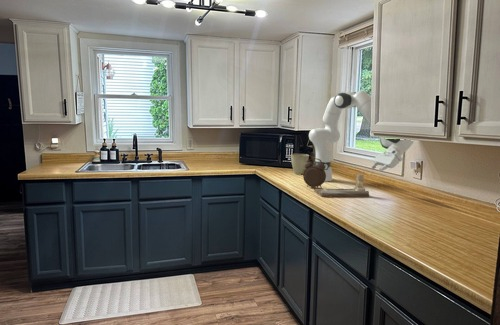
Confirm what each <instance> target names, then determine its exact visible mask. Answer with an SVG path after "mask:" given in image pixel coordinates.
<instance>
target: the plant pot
mask: <svg viewBox="0 0 500 325" xmlns="http://www.w3.org/2000/svg"><path fill="white" fill-rule="evenodd" d="M309 158H310V155H309V154H307V153H306V154H305V153H291V154H290V159H291V160H290V161H291V165H292V171H293V173H295V174H294V175H298V174H302V175H303V174H304V171H305V169H306V168H305V164H306V163H307V161H308V162H309V160H310V159H309Z"/></svg>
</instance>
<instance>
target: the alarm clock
mask: <svg viewBox="0 0 500 325" xmlns="http://www.w3.org/2000/svg"><path fill="white" fill-rule="evenodd" d="M315 159H317V158H316V157H313V158H310V159H308V161H307V163H306V164H305V168H306V169H305V171H304V174H302V176H303V181H304V183H305V184H306V187H309V186H310V187H311V188H316V189H319V187H320V189H323V188H322V185H323V184H324V183H325V182H326V181H325V179H326V173H325V171H324V169H325V165H324V164H323V163H324V162H322V161H321V160H320V159H317V160H320V162H321V163H318V164H317V165H314V164H316V163H314V162H312V160H315Z"/></svg>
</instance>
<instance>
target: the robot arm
mask: <svg viewBox="0 0 500 325" xmlns="http://www.w3.org/2000/svg"><path fill="white" fill-rule="evenodd" d="M371 98H372V97H371V96H370V94H368V93H367V92H366V91H365V90H359V91H357V92H356V91H346V92H340V93H337V94H336V95H335V96H332V97H330V100H329V101H328V103H327V105H326V108H325V110H324V114H323V116H322V122H323V123H324V124H325V125H324V126H325V127H321V128H319V127H317V128H313V129H311V130H310V131H309V133H308V139H309V141H310V142H312V144H313V146H314V150H315V158H317V159H320V160H321V161H322V162H324V163H323V164H324V165H325V169H324V171H325V173H326V179H325V182H330V181H334V178H333V169H332V168H331V164H332V162H331V156H332V153H331V152H332V151H331V150H330V149H329V148H328V147H327V144H333V143H337V142H338V141H339V140H340V138H341V134H340V132H339V130H338V122H339V119H340V116H341V114H342V111H343V109H352V108H357V110H358V111H359V112H360V113H361V115H362V116H363V118H365V119H366V121H367V122H368V123H369V125H370V126H371ZM379 142H380V145H381V147H382V148H383V149H385V151H384V152H381V153H379V154H377V155H376V156H375V157H374V158H373V159H372V161H373V164H372V166H371V167H370V168H371V169H372V170H375V169H376V168H377V166H380V168H379V169H378V170H379V171H380V172H383V171H385V170H387V169H393V168H395V167H396V166H397V165H398V164H399V163H400V162H402V161H403V160H404V158H403V157H402V155H403V154H404V153H405V152H407V151H408V150H409V149H410V148H411V147H412V146H413V145H414V142H415V141H411V140H400V139H385V138H379ZM317 159H314V162H313V165H317V164H318V163H321V162H320V160H317ZM314 163H316V164H314ZM381 166H382V167H381Z"/></svg>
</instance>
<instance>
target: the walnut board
mask: <svg viewBox="0 0 500 325" xmlns="http://www.w3.org/2000/svg"><path fill="white" fill-rule="evenodd" d="M313 192H314V194H317V195H319V196H320V197H321V198H369V197H370V191H369V190H365V191H353V188H313Z"/></svg>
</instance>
